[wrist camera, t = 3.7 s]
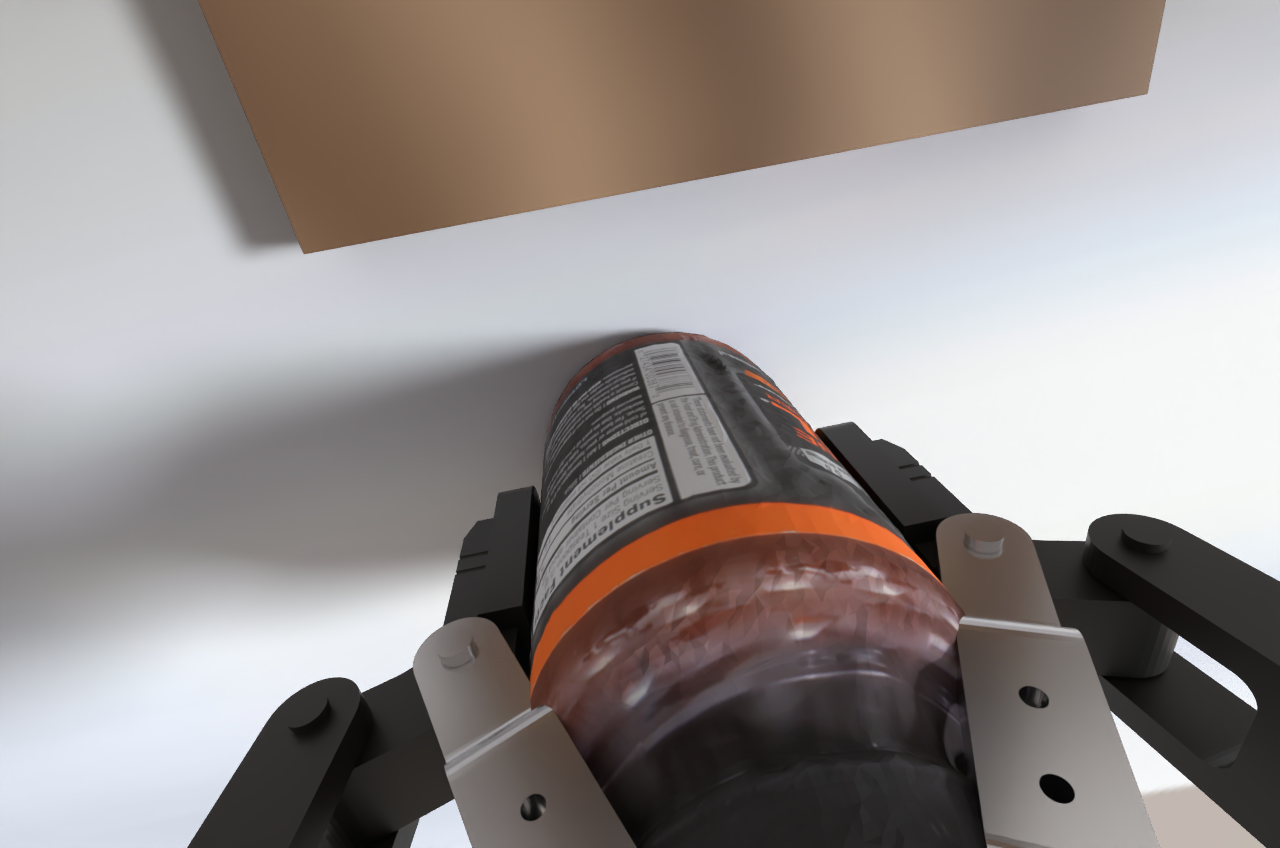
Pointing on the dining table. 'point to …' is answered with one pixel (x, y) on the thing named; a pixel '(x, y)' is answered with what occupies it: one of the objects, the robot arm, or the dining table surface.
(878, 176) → the dining table surface
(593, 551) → the supplement bottle
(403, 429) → the dining table surface
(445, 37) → the socket plate
